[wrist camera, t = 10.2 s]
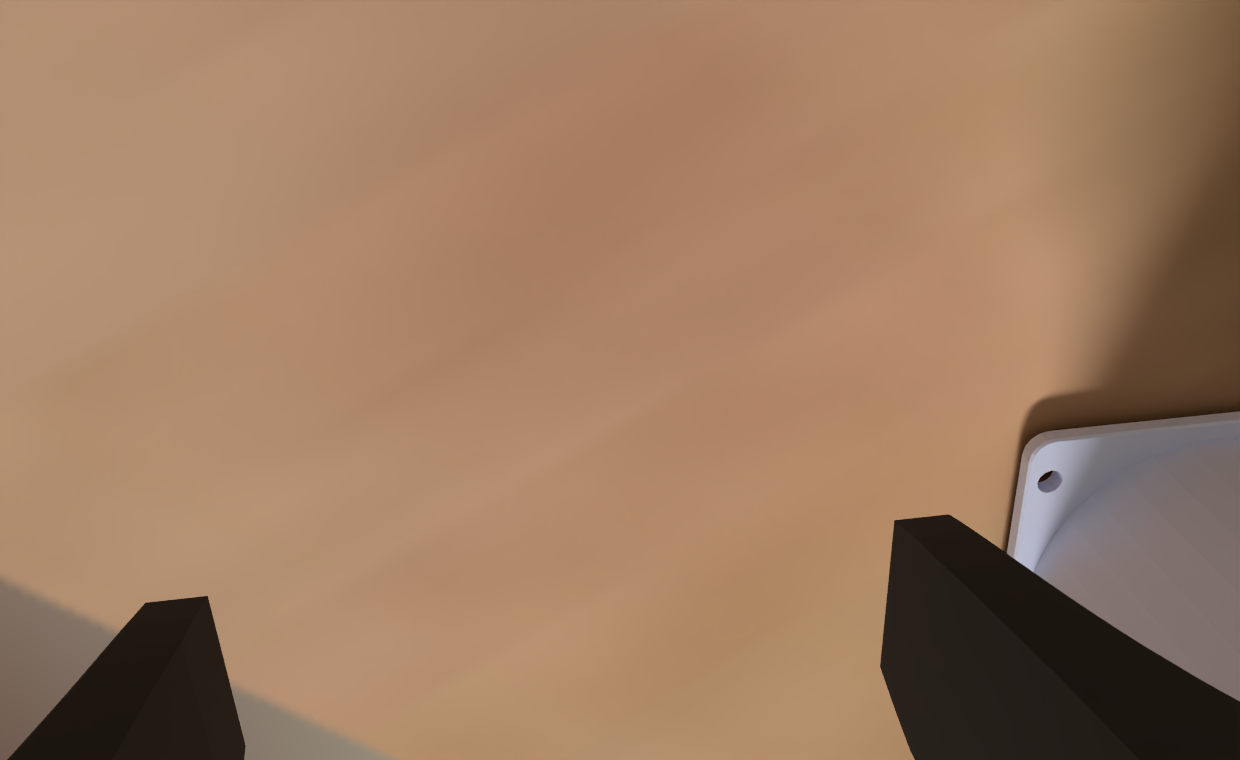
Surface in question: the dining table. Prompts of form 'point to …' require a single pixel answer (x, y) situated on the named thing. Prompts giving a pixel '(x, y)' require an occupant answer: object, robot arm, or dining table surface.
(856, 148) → the dining table surface
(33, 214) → the dining table surface
